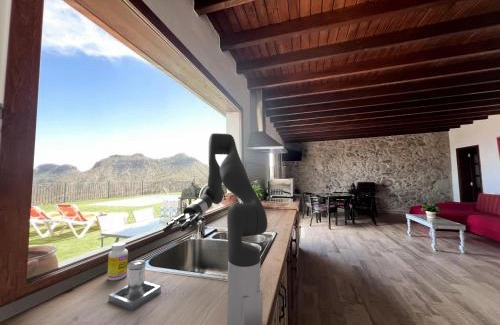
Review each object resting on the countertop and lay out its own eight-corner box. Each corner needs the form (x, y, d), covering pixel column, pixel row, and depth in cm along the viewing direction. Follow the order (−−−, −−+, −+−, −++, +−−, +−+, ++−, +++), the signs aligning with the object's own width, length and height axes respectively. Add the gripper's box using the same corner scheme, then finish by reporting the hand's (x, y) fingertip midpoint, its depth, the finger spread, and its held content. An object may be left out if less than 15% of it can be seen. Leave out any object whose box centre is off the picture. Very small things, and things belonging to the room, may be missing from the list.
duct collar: (160, 292, 74) (160, 286, 74) (131, 310, 64) (131, 303, 64) (138, 284, 78) (138, 279, 78) (108, 301, 68) (108, 294, 68)
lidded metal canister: (145, 297, 70) (147, 263, 71) (127, 302, 67) (129, 267, 68) (142, 290, 75) (144, 258, 75) (126, 295, 72) (127, 262, 72)
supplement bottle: (117, 282, 80) (119, 247, 81) (102, 280, 81) (104, 246, 82) (130, 273, 86) (132, 242, 87) (117, 272, 88) (118, 240, 88)
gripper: (180, 204, 97) (155, 223, 82) (206, 200, 92) (184, 219, 77) (186, 219, 98) (162, 240, 83) (211, 216, 93) (190, 237, 78)
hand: (172, 230), depth 80 cm, fingers open, 8 cm apart
